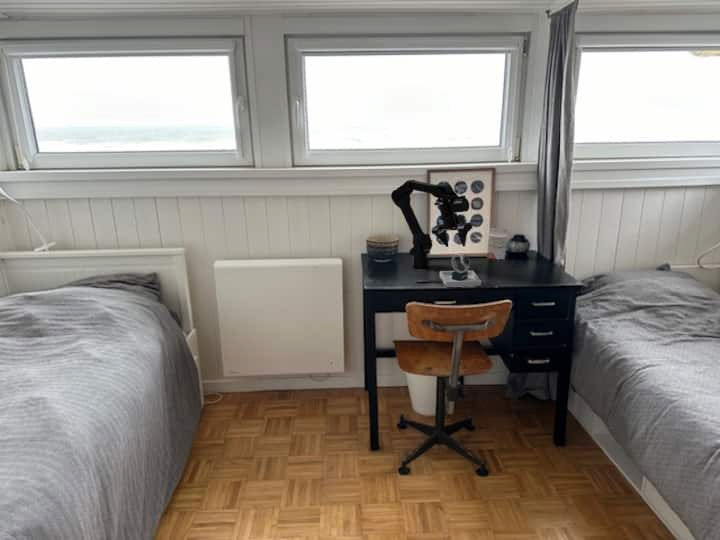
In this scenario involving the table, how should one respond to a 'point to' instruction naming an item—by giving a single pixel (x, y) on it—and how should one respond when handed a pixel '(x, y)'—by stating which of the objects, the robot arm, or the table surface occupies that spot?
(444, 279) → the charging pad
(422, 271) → the table surface
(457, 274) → the watch
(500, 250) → the ink cartridge box
